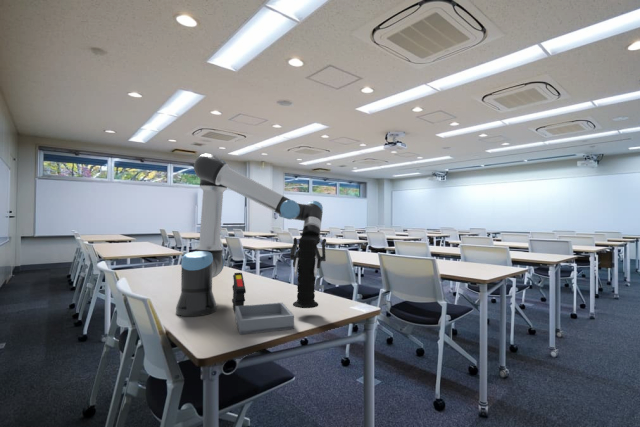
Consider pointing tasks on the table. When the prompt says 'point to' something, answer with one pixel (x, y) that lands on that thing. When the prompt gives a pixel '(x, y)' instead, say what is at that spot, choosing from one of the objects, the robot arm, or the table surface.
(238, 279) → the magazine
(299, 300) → the handle grip
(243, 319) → the tray
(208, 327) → the table surface
